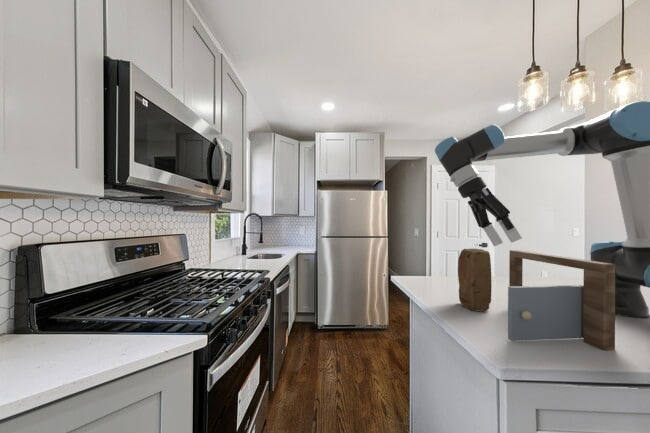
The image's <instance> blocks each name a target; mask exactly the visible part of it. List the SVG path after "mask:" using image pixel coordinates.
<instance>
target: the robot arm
mask: <svg viewBox="0 0 650 433" xmlns="http://www.w3.org/2000/svg"><path fill="white" fill-rule="evenodd" d="M434 152H435V155H436V158H438V160H439V161H438V162H440V164H441V165H442V167H443V168H444V170H445V172H446V173H447V174H448V176H449V178H450V182H451V183H452V182H453V185H455V187H456V188H457V191H458V193H459V194H460V196H461V197H462V199H467V198H469V199H470V200H468V201H467V204H468V205H469V207H470V209H471V211H472V215H473V216H474V218H475V221H476V223H477V225H478V227H479V228H481V229H483V231H484V232H485V234H486V236H487V237H488V239H489V241H490V242H491V244H492V245H493V247H496V246H499V245H502V244H503V243H504V241H503V240H502V238H501V237H500V235H499V234H498V232H497V230H496V228H495V227H494V226H493V222H491V221H490V220H489V215H488V212H489V213H490V214H491V215H493V217H495V221H496V223H498V225H499V226H500V227H501V229H502V230H503V232H504V234H505V235H506V237H507V239H508V240H509V241H510V243H515V242H517V241H519V240H521V239H523V237H522V236H521V234H520V232H519V231H518V229H517V227H515V225H514V224H513V222H512V220H511V219H510V217H509V215H510V214H511V212H510V210H509V209H508V208H507V206H505V205H504V204H503V203H502V202H501V201H500V200H499V199H498V198H497V197H496V196H495V195H494V194H493V192H492V191H491V190H490V189H489V188H488V187H487V184H486V182H485V181H484V179H483V178H482V177H481V176H480V173H479V171H478V169H477V168H476V167H475V165H474V164H473V163H474V162H483V161H492V160H493V161H494V160H503V159H513V158H524V157H534V156H545V155H547V156H548V155H554V154H555V155H557V154H558V155H559V156H562V157H565V156H566V157H567V156H581V155H594V154H595V155H596V154H601V157H602V158H603V159H605V160H607V161H608V162H610V164H611V168H612V172H613V177H614V181H615V186H616V190H617V195H618V200H619V204H620V208H621V214H622V218H623V223H624V228H625V232H626V237H627V238H626V240H624V241H597V242H594V243H592V244H591V245H590V246H591V248H590V252H589V254H590V261H596V262H603V263H610V264H615V316H616V315H617V316H621V317H622V316H623V317H631V318H647V317H649V316H650V310H649V306H648V304H647V302H646V301H645V298H644V295H643V292H642V291H641V286H642V287H646V288H648V289H649V288H650V101H647V100H639V101H633V102H629V103H628V104H625V105H621V106H618V107H616V108H615V109H613V110H610V111H608V112H606V113H604V114H601V115H600V116H598V117H595V118H592V119H590V120H589V121H586V122H583V123H581V124H577V125H572V126H569V127H568V126H567V127H562V128H561V129H560V130H558V131H549V132H540V133H532V134H521V135H513V136H505V133H504V131H503V129H502V128H501V127H499V126H498V125H497V124H490V125H488V126H486V127H482V128H481V129H479V130H478V131H476V132H474V133H472V134H470V135H468V136H466V137H463V138H462V139H460V140H458V139H457V138H456V137H455V136H450V137H447V138H445V139H443V140H442V141H439V143H438V144H437V145H436V146H435V148H434Z"/></svg>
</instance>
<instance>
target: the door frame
mask: <svg viewBox="0 0 650 433" xmlns="http://www.w3.org/2000/svg"><path fill="white" fill-rule="evenodd" d="M508 255H509V272H508V274H509V276H508V277H509V278H508V279H509V284H508V285H509V286H523V273H524V272H523V260H528V261H535V262H541V263H546V264H550V265H557V266H563V267H568V268H575V269H579V270H583V285H584V306H583V338H582V339H583V343H585V344H587V345H590V346H592V347H594V348H596V349H599V350H601V351H616V315H615V264H610V263H603V262H596V261H591V260H588V259H581V258H573V257H567V256H562V255H560V256H559V255H553V254H546V253H540V252H539V253H538V252H535V251H534V252H533V251H532V252H531V251H525V250H518V249H512V250H510V249H509V254H508ZM509 286H508V287H509Z"/></svg>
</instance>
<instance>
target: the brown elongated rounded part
mask: <svg viewBox="0 0 650 433" xmlns="http://www.w3.org/2000/svg"><path fill="white" fill-rule="evenodd" d="M491 262H492V261H491V254H490V252H489V250H484V249H482V248H463V249H461V251H460V253H459V256H458V260H457V278H458V284H459V287H458V298H459V302H460V303H461V306H463V307H465V308H466V309H468V310H470V311H471V310H472V311H476V312H486V311H488V310H489V309H490V304H491V302H492V265H491V264H492V263H491Z"/></svg>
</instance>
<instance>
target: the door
mask: <svg viewBox="0 0 650 433" xmlns="http://www.w3.org/2000/svg"><path fill="white" fill-rule="evenodd" d="M583 306H584V284H582V285H581V284H580V285H579V284H578V285H576V284H575V285H571V284H570V285H525V286H523V285H522V286H507V339H508V340H509V341H511V342H517V341H518V342H520V341H522V342H523V341H541V340H545V341H546V340H547V341H548V340H567V339H568V340H571V339H572V340H573V339H583Z"/></svg>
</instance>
